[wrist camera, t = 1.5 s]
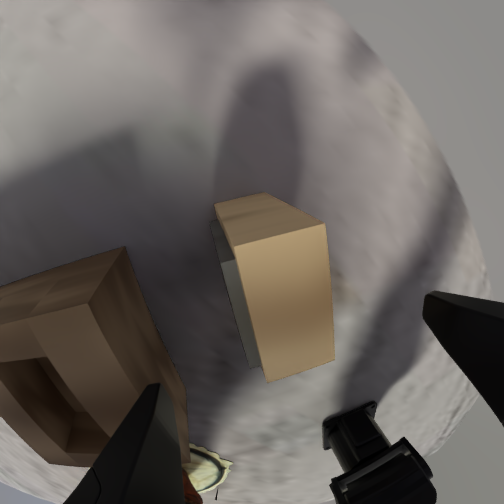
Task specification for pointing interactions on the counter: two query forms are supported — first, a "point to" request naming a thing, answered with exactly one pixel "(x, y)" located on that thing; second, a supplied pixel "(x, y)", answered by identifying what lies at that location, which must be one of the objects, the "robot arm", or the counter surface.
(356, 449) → the robot arm
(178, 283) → the counter surface
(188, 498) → the decorative vase
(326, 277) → the tan cardboard block
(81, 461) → the wooden block stand
